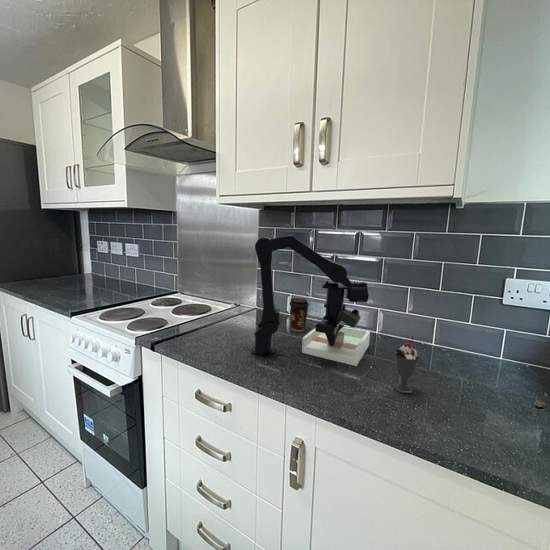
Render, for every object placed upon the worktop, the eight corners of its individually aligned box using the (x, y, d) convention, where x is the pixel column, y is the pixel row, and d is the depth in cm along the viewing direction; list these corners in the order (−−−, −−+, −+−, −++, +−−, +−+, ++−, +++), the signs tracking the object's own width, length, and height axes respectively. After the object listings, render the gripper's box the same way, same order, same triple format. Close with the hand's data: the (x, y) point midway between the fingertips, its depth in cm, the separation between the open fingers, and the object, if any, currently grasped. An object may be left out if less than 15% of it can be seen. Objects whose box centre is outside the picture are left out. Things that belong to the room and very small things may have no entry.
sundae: (415, 385, 84) (421, 335, 82) (417, 398, 78) (424, 344, 76) (390, 381, 86) (395, 331, 84) (390, 392, 80) (396, 340, 78)
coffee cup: (284, 326, 130) (285, 297, 128) (300, 324, 134) (302, 296, 132) (293, 333, 123) (295, 302, 121) (311, 330, 126) (312, 301, 124)
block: (339, 348, 102) (340, 336, 101) (327, 345, 104) (328, 333, 104) (343, 344, 106) (344, 332, 105) (331, 341, 108) (332, 329, 107)
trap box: (356, 366, 95) (357, 349, 94) (301, 352, 104) (302, 337, 103) (368, 345, 112) (370, 331, 112) (321, 335, 121) (322, 322, 120)
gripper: (351, 311, 87) (347, 361, 89) (365, 299, 103) (362, 342, 106) (315, 305, 92) (313, 353, 95) (334, 295, 109) (331, 335, 111)
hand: (331, 345), depth 101 cm, fingers closed
